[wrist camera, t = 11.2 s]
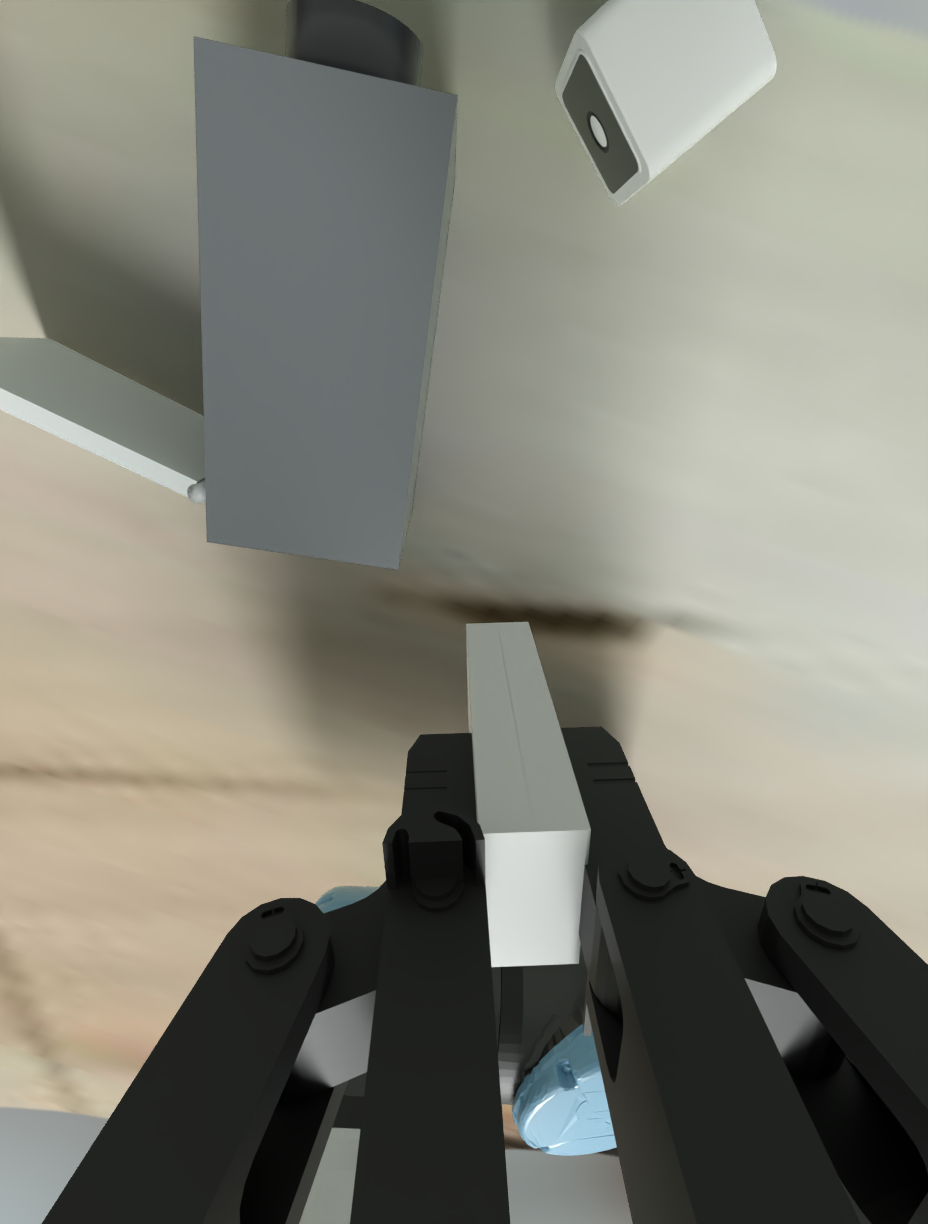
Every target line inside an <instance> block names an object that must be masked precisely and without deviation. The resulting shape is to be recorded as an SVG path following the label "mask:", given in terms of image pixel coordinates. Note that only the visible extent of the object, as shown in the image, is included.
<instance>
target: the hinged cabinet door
mask: <svg viewBox="0 0 928 1224" xmlns="http://www.w3.org/2000/svg"><path fill="white" fill-rule="evenodd" d="M0 410H2V411H4V412H6V413H9V414H11V415H13V416H15V417H17V418H19V419H21V420H24V421H26V422H28V423H30V424H32V425H34V426H36V427H38V428H41V429H43V430H45V431H47V432H49V433H51V434H53V435H56V436H58V437H60V438H62V439H64V440H66V441H68V442H71V443H73V444H75V445H77V446H79V447H81V448H83V449H85V450H88V451H90V452H92V453H94V454H96V455H98V456H100V457H103V458H105V459H107V460H109V461H111V462H113V463H115V464H118V465H120V466H122V467H124V468H126V469H128V470H130V471H132V472H135V473H137V474H139V475H141V476H143V477H145V478H147V479H150V480H152V481H154V482H156V483H158V484H160V485H162V486H165V487H167V488H169V489H171V490H173V491H175V492H177V493H179V494H182V495H184V496H186V497H188V498H189V499H190V500H191V501H193V502H194V503H198V504H200V503H203V502H205V501H206V488H205V450H204V416H203V415H201V414H199V413H197V412H195V411H193V410H191V409H189V408H187V407H185V406H183V405H181V404H179V403H177V402H175V401H173V400H171V399H169V398H167V397H165V396H163V395H161V394H159V393H157V392H155V391H153V390H151V389H149V388H147V387H145V386H143V385H141V384H139V383H137V382H135V381H133V380H131V379H129V378H127V377H125V376H123V375H121V374H119V373H117V372H115V371H113V370H111V369H109V368H107V367H105V366H103V365H101V364H99V363H97V362H95V361H93V360H91V359H89V358H87V357H85V356H83V355H81V354H79V353H77V352H75V351H74V350H72V349H70V348H68V347H66V346H64V345H62V344H60V343H58V342H56V341H54V340H52V339H49V338H6V337H0Z"/></svg>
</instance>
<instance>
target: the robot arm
mask: <svg viewBox="0 0 928 1224" xmlns="http://www.w3.org/2000/svg"><path fill="white" fill-rule="evenodd" d="M466 647H467V687H468V723H469V733H455V734H426V735H420V736H419V738H418V739H417V740H416V742H415V743H414V745H413V746H412V747H411V749H410V750H409V751H408V758H407V767H406V777H405V787H404V796H403V806H402V815H401V816H400V817H399V818H398V819H397V820H396V821H395V822H394V823H393V824H392V825H391V826H390V827H389V828H388V830H387V833H386V836H385V838H384V841H383V843H382V844H383V853H384V862H385V871H386V881H385V882H384V883H383V884H382V885H381V886H380V887H357V886H339V887H335V888H333V889H331V890H329V891H327V892H326V893H325V894H323V895H322V896H321V897H320V898H319V900H318V901H317V902H316V903H315V904H313V903H311V902H309V901H306V900H304V899H301V898H280V899H277V900H274V901H271V902H268V903H265V904H262V905H260V906H258V907H257V908H255V909H254V910H252V911H251V912H249V913H248V914H246V915H245V916H243V917H242V918H241V919H240V920H239V921H238V922H237V924H236V925H235V926H234V927H233V928H232V929H231V930H230V932H229V933H228V934H227V935H226V937H225V938H224V940H223V942H222V943H221V945H220V946H219V948H218V949H217V951H216V953H215V954H214V956H213V957H212V959H211V960H210V962H209V963H208V965H207V967H206V968H205V970H204V971H203V973H202V974H201V976H200V977H199V979H198V981H197V982H196V984H195V985H194V987H193V988H192V990H191V992H190V993H189V995H188V996H187V998H186V999H185V1001H184V1002H183V1004H182V1006H181V1007H180V1009H179V1010H178V1012H177V1013H176V1015H175V1017H174V1018H173V1020H172V1021H171V1023H170V1024H169V1026H168V1027H167V1029H166V1031H165V1032H164V1034H163V1035H162V1037H161V1038H160V1040H159V1041H158V1043H157V1045H156V1046H155V1048H154V1049H153V1051H152V1052H151V1054H150V1056H149V1057H148V1059H147V1060H146V1062H145V1063H144V1065H143V1066H142V1068H141V1070H140V1071H139V1073H138V1074H137V1076H136V1077H135V1079H134V1081H133V1082H132V1084H131V1085H130V1087H129V1088H128V1090H127V1091H126V1093H125V1095H124V1096H123V1098H122V1099H121V1101H120V1102H119V1104H118V1105H117V1107H116V1109H115V1110H114V1112H113V1113H112V1115H111V1116H110V1118H109V1120H108V1121H107V1123H106V1124H105V1126H104V1127H103V1129H102V1130H101V1132H100V1134H99V1135H98V1137H97V1138H96V1140H95V1141H94V1143H93V1145H92V1146H91V1148H90V1150H89V1151H88V1153H87V1154H86V1156H85V1157H84V1159H83V1160H82V1162H81V1163H80V1165H79V1167H78V1168H77V1169H76V1171H75V1173H74V1174H73V1176H72V1177H71V1179H70V1180H69V1182H68V1184H67V1185H66V1187H65V1188H64V1190H63V1191H62V1193H61V1194H60V1196H59V1198H58V1199H57V1201H56V1202H55V1204H54V1206H53V1207H52V1209H51V1210H50V1212H49V1213H48V1215H47V1216H46V1218H45V1220H44V1221H43V1223H42V1224H510V1215H509V1201H508V1188H507V1175H506V1174H507V1173H506V1160H505V1146H504V1132H503V1118H502V1104H509V1105H512V1116H513V1118H514V1122H515V1124H516V1125H517V1128H518V1131H519V1133H520V1135H521V1137H522V1139H523V1140H524V1141H525V1142H526V1143H527V1144H528V1145H529V1146H531V1147H533V1148H540V1149H541V1150H542V1151H543V1152H545V1153H548V1154H554V1155H583V1154H590V1153H596V1152H601V1151H605V1150H609V1149H612V1148H615V1147H617V1150H618V1155H619V1160H620V1165H621V1169H622V1174H623V1179H624V1183H625V1188H626V1193H627V1198H628V1203H629V1207H630V1212H631V1217H632V1221H633V1224H928V965H927V964H926V963H925V962H924V961H923V960H922V959H921V958H920V957H919V956H918V955H917V954H916V953H915V952H914V951H913V950H912V949H911V948H910V947H909V946H908V945H907V944H905V943H904V942H903V941H902V940H901V939H900V938H899V937H898V936H897V935H896V934H895V933H894V932H893V931H892V930H891V929H890V928H889V927H888V926H887V925H886V924H885V923H884V922H882V921H881V920H880V919H879V918H878V917H877V916H876V915H875V914H874V913H873V912H872V911H871V910H870V909H869V908H868V907H867V906H865V905H864V904H863V903H861V902H860V901H859V900H857V899H856V898H855V897H854V896H852V895H851V894H850V893H848V892H847V891H845V890H843V889H840V888H838V887H836V886H834V885H832V884H830V883H828V882H826V881H822V880H818V879H814V878H809V877H805V876H798V877H784V878H783V879H781V880H779V881H777V882H776V883H774V884H772V885H771V887H770V889H769V891H768V894H767V896H766V897H762V896H758V895H754V894H749V893H745V892H741V891H737V890H733V889H728V888H724V887H721V886H718V885H715V884H712V883H709V882H707V881H705V880H703V879H701V878H699V877H697V876H695V874H694V873H693V871H692V870H691V869H690V867H689V866H688V864H687V863H686V862H685V861H684V860H682V859H681V858H680V857H678V856H677V855H676V854H674V853H673V852H672V851H671V850H668V849H667V848H666V846H665V845H664V843H663V840H662V838H661V836H660V834H659V831H658V829H657V827H656V825H655V822H654V820H653V818H652V816H651V813H650V811H649V809H648V807H647V804H646V802H645V800H644V798H643V795H642V793H641V791H640V788H639V786H638V784H637V782H635V777H634V775H633V773H632V770H631V768H630V766H628V761H627V759H626V757H625V755H624V752H623V750H622V748H621V746H620V743H619V742H618V741H617V740H616V739H614V738H613V737H612V736H611V735H610V734H609V733H608V732H607V731H606V730H604V729H603V728H602V727H578V728H560V725H559V722H558V719H557V715H556V712H555V709H554V705H553V702H552V699H551V695H550V692H549V689H548V686H547V682H546V679H545V676H544V672H543V669H542V666H541V662H540V659H539V656H538V652H537V649H536V646H535V642H534V639H533V636H532V632H531V629H530V626H529V622H505V623H473V624H466Z"/></svg>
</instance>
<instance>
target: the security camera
mask: <svg viewBox="0 0 928 1224" xmlns="http://www.w3.org/2000/svg"><path fill="white" fill-rule="evenodd" d="M776 67H777V61H776V55H775V52H774V49H773V46H772V44H771V41H770V38H769V36H768V33H767V31H766V28H765V25H764V23H763V20H762V18H761V15H760V12H759V10H758V7H757V5H756V2H755V0H608V1H607V2H606V3H605V4H604V5H603V6H601V7H600V8H599V9H598V10H597V11H596V12H595V13H594V14H593V15H592V16H591V17H590V18H589V19H588V20H587V21H586V22H585V23H583V24H582V25H581V26H580V27H579V28H578V29H577V30H576V31H575V33H574V36H573V38H572V41H571V43H570V46H569V48H568V51H567V53H566V56H565V58H564V61H563V63H562V66H561V68H560V71H559V73H558V76H557V79H556V81H555V90H556V93H557V96H558V99H559V101H560V103H561V105H562V107H563V109H564V111H565V113H566V115H567V117H568V119H569V120H570V122H571V124H572V126H573V128H574V130H575V132H576V134H577V136H578V138H579V140H580V141H581V143H582V145H583V147H584V149H585V151H586V153H587V155H588V157H589V159H590V160H591V162H592V164H593V166H594V168H595V170H596V172H597V174H598V176H599V178H600V180H601V181H602V183H603V185H604V187H605V189H606V191H607V193H608V195H609V196H610V198H611V200H612V201H613V202H614V203H615V204H616V205H617V206H621V205H622V204H623V203H625V202H626V201H627V200H628V199H629V198H631V197H632V196H633V195H634V194H635V193H637V192H638V191H639V190H640V189H641V188H643V187H644V186H645V185H646V184H647V183H649V182H650V181H651V180H652V179H653V178H655V177H656V176H657V175H658V174H659V173H661V172H662V171H663V170H664V169H665V168H667V167H668V166H669V165H670V164H671V163H673V162H674V161H675V160H676V159H677V158H679V157H680V156H681V155H682V154H683V153H684V152H686V151H687V150H688V149H689V148H690V147H692V146H693V145H694V144H695V143H696V142H698V141H699V140H700V139H701V138H702V137H704V136H705V135H706V134H707V133H708V132H709V131H711V130H712V129H713V128H714V127H715V126H717V125H718V124H719V123H720V122H721V121H723V120H724V119H725V118H726V117H727V116H729V115H730V114H731V113H732V112H733V111H735V110H736V109H737V108H738V107H739V106H740V105H742V104H743V103H744V102H745V101H746V100H748V99H749V98H750V97H751V96H752V95H754V94H755V93H756V92H757V91H758V90H760V89H761V88H762V87H763V86H764V85H766V84H767V83H768V82H769V81H770V80H771V79H772V78H773V77H774V75H775V72H776Z"/></svg>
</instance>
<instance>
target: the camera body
mask: <svg viewBox="0 0 928 1224" xmlns="http://www.w3.org/2000/svg"><path fill="white" fill-rule="evenodd" d="M422 57H423V48H422V45H421V43H420V41H419V39H418V38H417V36H416V35H415V34H414V33H413V32H412V31H411V30H410V29H409V28H408V27H407V26H405V25H404V24H403V23H401V22H400V21H399V20H397V19H396V18H394V17H392V16H391V15H389V14H387V13H385V12H383V11H381V10H379V9H377V8H375V7H373V6H370V5H368V4H365V3H362V2H359V1H356V0H292V1H291V2H290V3H289V4H288V6H287V10H286V48H285V57H284V56H279V55H275V54H270V53H266V52H261V51H257V50H252V49H248V48H243V47H239V46H235V45H230V44H226V43H221V42H217V41H212V40H208V39H203V38H199V37H194V69H195V107H196V145H197V183H198V221H199V259H200V298H201V336H202V374H203V412H204V450H205V488H206V526H207V542H210V543H217V544H224V545H231V546H238V547H244V548H251V549H258V550H265V551H272V552H279V553H285V554H292V555H299V556H306V557H313V558H320V559H326V560H333V561H340V562H347V563H354V564H361V565H367V566H374V567H381V568H388V569H395V570H398V569H399V564H400V560H401V556H402V552H403V547H404V543H405V539H406V535H407V530H408V526H409V522H410V518H411V513H412V507H413V500H414V492H415V484H416V477H417V469H418V461H419V453H420V446H421V438H422V430H423V422H424V415H425V407H426V399H427V392H428V384H429V376H430V368H431V361H432V353H433V345H434V338H435V330H436V322H437V314H438V307H439V299H440V291H441V284H442V276H443V268H444V260H445V253H446V245H447V237H448V229H449V222H450V214H451V206H452V199H453V191H454V183H455V163H456V126H457V95H454V94H450V93H445V92H441V91H436V90H432V89H427V88H423V87H419V86H420V76H421V67H422Z"/></svg>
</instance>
